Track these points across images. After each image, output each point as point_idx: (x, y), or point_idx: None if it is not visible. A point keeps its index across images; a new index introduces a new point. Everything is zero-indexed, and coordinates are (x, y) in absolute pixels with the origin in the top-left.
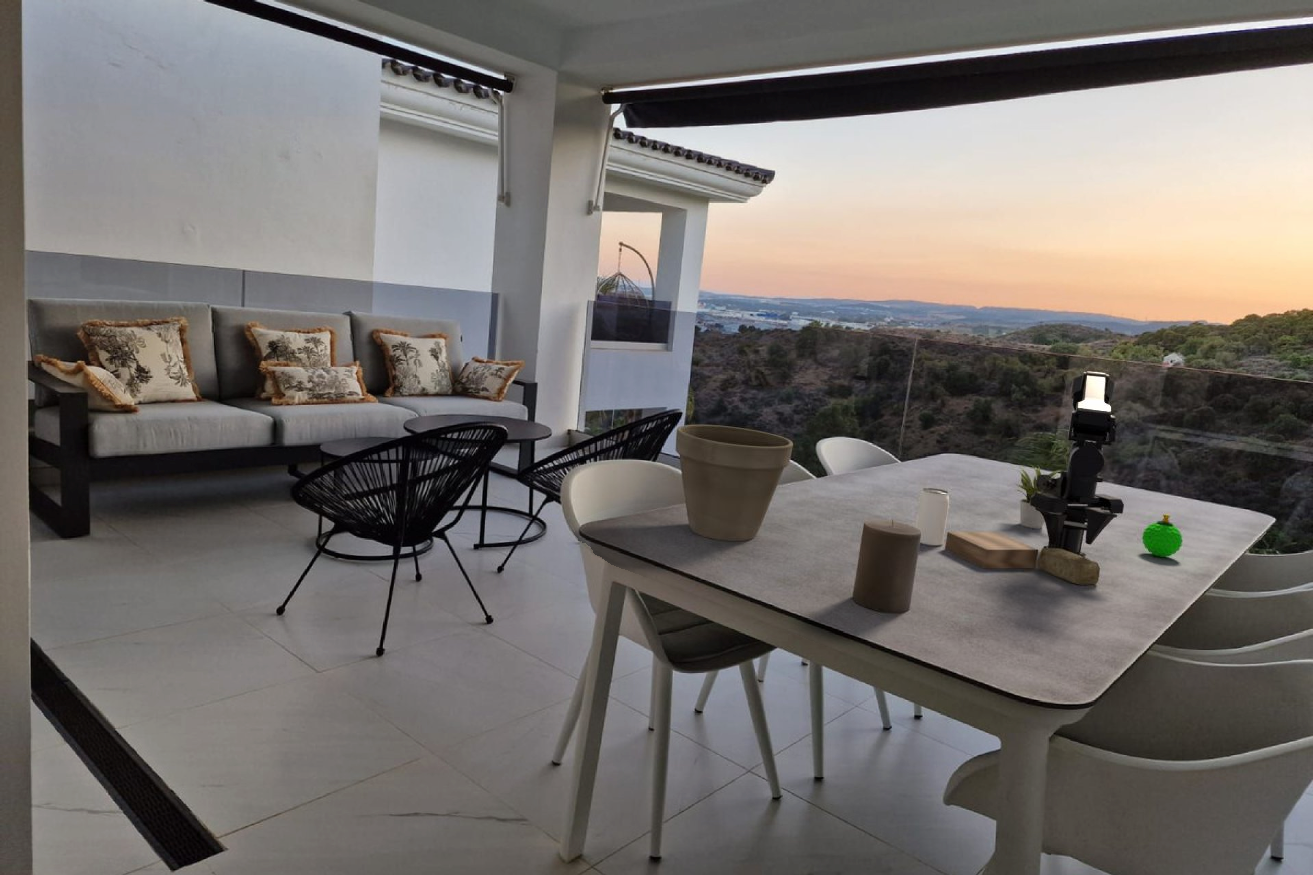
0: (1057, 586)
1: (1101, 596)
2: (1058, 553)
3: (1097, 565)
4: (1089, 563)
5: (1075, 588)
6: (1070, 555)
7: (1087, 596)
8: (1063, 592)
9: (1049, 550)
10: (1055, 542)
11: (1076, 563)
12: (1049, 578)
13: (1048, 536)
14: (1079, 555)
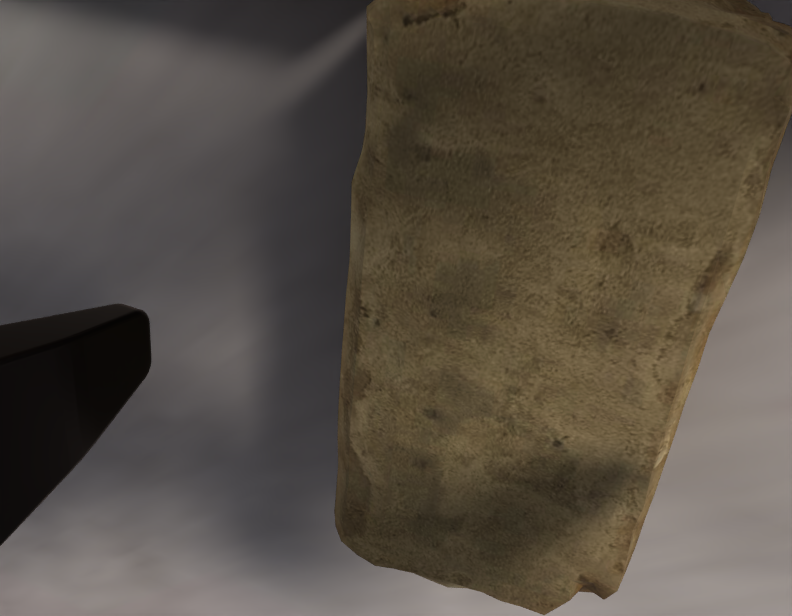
0: (229, 372)
1: (375, 579)
2: (364, 289)
3: (587, 589)
4: (445, 579)
5: (331, 444)
6: (470, 385)
7: (279, 539)
8: (180, 445)
9: (373, 143)
10: (118, 399)
11: (337, 501)
12: (318, 239)
13: (22, 327)
14: (671, 402)
